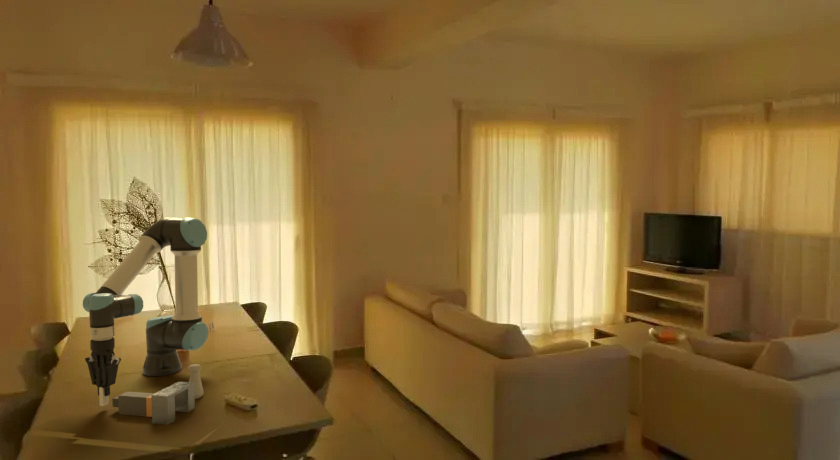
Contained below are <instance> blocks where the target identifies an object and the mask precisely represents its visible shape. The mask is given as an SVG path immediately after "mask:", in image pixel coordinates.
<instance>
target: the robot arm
mask: <svg viewBox="0 0 840 460" xmlns="http://www.w3.org/2000/svg"><path fill="white" fill-rule="evenodd" d="M207 238H208V231H207V227H206V225H205V224H204V223H203V221H202V220H201V219H198V218H196V217H189V216H188V217H174V216H172V217H168V216H167V217H164V218H161V219H159V220H157V221H155V222H154V223H153V224H151V225H150V226H149V227H148V228H147V229H146V230H144V231H143V233H142V234H141V235H140V236H139V238H138V243H137V244H136V245H135V246H134V248H133V249H132V250H131V251H130V252H129V253H128V255H127V256H126V257H125V258H124V259H123V261H122V262H121V263H120V264H119V265H118V266H117V268H116V269H115V270H114V271H113V272H112V273H111V274H110V275H109V277H108V278H107V279H106V280H105V282H104V283H103V284H102V285H101V286H100V288H98V289H97V291H96V292H90V293H88V294H86V295H85V296H84V297H83V300H82V307H83V309H84V311H86V312H87V313H89V336H90V341H89V342H90V343H89V344H90V346H89V348H90V351H91V354H90V355H89V356H87V357H85V358H84V361H85V362H86V364H87V369H88V371H89V376H90V379H91V384H92V385H93V386H96V387H97V395H98V396H99V397H98V399H99V406H100V407H104V406H107V405H109V403H110V400H109V399H110V395H111V386H112V385H115V384H116V379H117V374H118V371H119V364H120V363H121V361H122V359H121V357H117V356H115V355H116V354H115V351H114V348H115V347H116V346H115V345H116V343H115V338H114V337H115V319H119V318H125V317H126V318H127V317H131V316H135V315H137V314H140V313H141V312H142V311H143V309H144V300H143V298H142V297H141V295H139V294H137V293H134V294H133V293H132V294H128V295H125V294H124V292H125V291H126V290H127V289H128V288H129V286H130V285H131V283H132V282H133V281H134V280H135V279H136V277H137V276H138V275H139V274H140V273H141V272H142V270H143V269H144V268H145V266H146V265H147V264H149V262H150V261H151V260H152V258H153V257H154V256H155V254H158V253H161V251H162V250H163V249H164V248H165V247H169V246H170V253H172V254H173V255H174V289H175V290H174V295H175V296H174V298H175V299H174V300H175V301H174V303H175V304H174V305H175V306H174V307H175V309H174V310H175V314H172V315H171V314H169V315H162V316H156V317H151V318H149V319H148V320H147V321H146V324H145V326H146V328H145V336H146V338H145V339H146V342H145V343H146V355H145V356H146V357H145V360H144V361H143V362H144V364H143V366H142V375H144V376H147V377H148V376H149V377H163V376H169V375H174V374H176V373H178V372H180V371H181V370H182V368H183V366H182V365H183V364H182V362H181V359H180V355H179V353H178V350H183V351H197V350H199V349H201V348H202V347H203V346H204V345H205V343H206V342H207V339H208V336H209V326H208V325H207V324H206V322H205V323H204V322H203V315H202V314H200V313H199V304H198V303H199V297H198V296H199V294H198V293H199V292H198V291H199V290H198V289H199V288H198V254H199V253H200V252H201V251H202V246H204V245H205V243H206V241H207Z"/></svg>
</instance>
